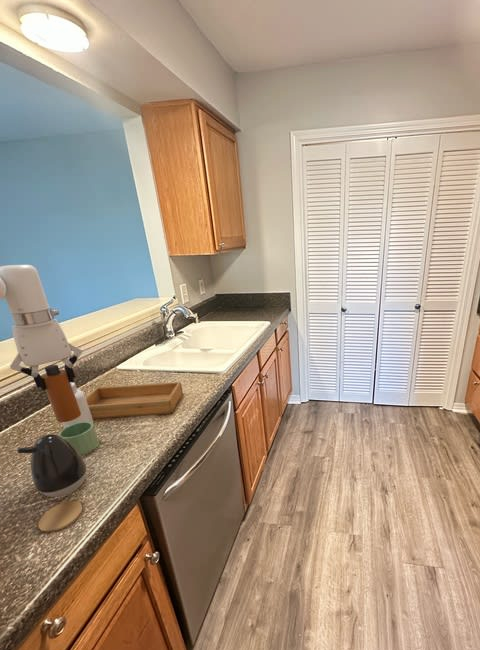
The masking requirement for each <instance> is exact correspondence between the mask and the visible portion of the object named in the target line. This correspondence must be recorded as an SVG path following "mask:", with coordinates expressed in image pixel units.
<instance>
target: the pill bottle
mask: <svg viewBox="0 0 480 650" xmlns="http://www.w3.org/2000/svg"><path fill="white" fill-rule="evenodd" d="M70 383H71V386H72V389H73V392H74V394H75V397H76V400H77V403H78V406H79V409H80V412H81V415H80V416H79V417H78V418H76V419H74V420H71V421H68V422H61V424H62V427H63V429H64V428H66V427H67V426H69V425H72V424H75V423H79V422H87V421H88V422H92V423H93V424H94V419H93V418H92V415H91V413H90V410H89V407H88V404H87V401H86V398H85V397H86V395H85V393H84V392H83V390H81V389H78V387H77V384H76V382H73V383H72V382H70Z"/></svg>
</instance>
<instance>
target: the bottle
mask: <svg viewBox="0 0 480 650" xmlns="http://www.w3.org/2000/svg"><path fill="white" fill-rule="evenodd" d="M44 370H45V373H42V374H40V376H41V378H42V380H43V383H44V386H45V388H46V390H45V392H46V395H47V399H48V400H49V401H48V402H49V403H50V406H51V409H52V411H53V414H54V416H55V419H56V421H57V422H58V423H62V422H68V421H71V420H74V419H76V418H78V417H79V416H80V415H81V412H80V409H79V406H78V403H77V400H76V397H75V394H74V392H73V389H72V386H71V383H70V380H69V377H68V374H67V371H66V370H65V369H60V368H59V365H58V364H51V365H47V366H45V367H44Z"/></svg>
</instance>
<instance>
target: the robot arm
mask: <svg viewBox="0 0 480 650" xmlns="http://www.w3.org/2000/svg"><path fill="white" fill-rule="evenodd" d="M3 299H5V302H6V305H7V307H8V309H9V312H10V315H11V318H12V320H13V322H14V325H12V326H11V331H12V336H13V341H14V343H15V347H16V350H17V353H16V356H15V357H14V359H13V360H12V362H11V363H10V365H9V368H10V369H11V370H14V371H16V372H20V373H22V374H25V375H27V376H30V377H32V378H33V380H34V383H35V386H36V388H37V389H40V390H41V391H43V392H45V391H46V388H45V386H44V383H43V380H42V378H41V374H40V373H39V366H41V365H45V364H48V363H53V362H54V363H55V362H57V361H61V362H63V364H64V368H63V370H66V371H67V374H68V377H69V380H70V382H72V383H75V380H74V379H75V378H76V375H75V374H76V373H75V371H74V365H75V363H77V361H78V359H79V358H80V356H81V355H82V354H83V350H82V349H81V348H80V347H77V346H75V345H73V344H71V343H69V341H68V339H67V336H66V334H65V332H64V330H63V328H62V326H61V324H60V322H59V321H58V320H57V319H55V317H56V316H59V315H60V311H59V310H58V309H52V308H51V307H50V304H49V302H48V299H47V296H46V292H45V289H44V287H43V283H42V280H41V278H40V274H39V272H38V269H37V268H36V267H35V266H33V265H31V264H9V265H0V302H1V301H2V300H3ZM72 352H73V353H72ZM21 363H23V364H24V366H22V365H20V364H21ZM28 367H29V368H28Z"/></svg>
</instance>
